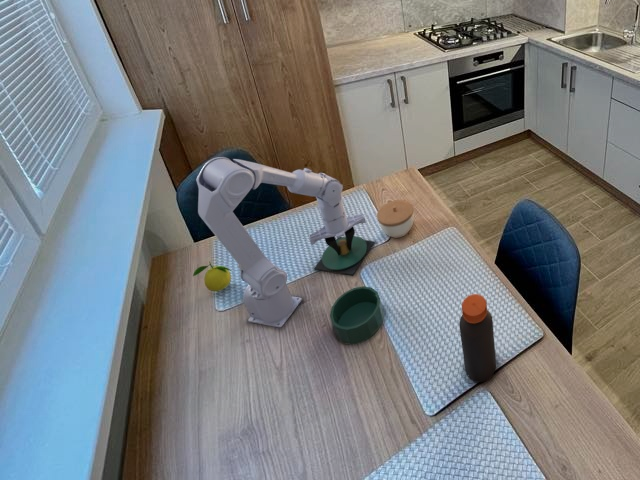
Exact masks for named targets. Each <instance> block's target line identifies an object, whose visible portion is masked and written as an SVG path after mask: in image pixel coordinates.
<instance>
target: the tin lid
mask: <svg viewBox="0 0 640 480" xmlns="http://www.w3.org/2000/svg"><path fill="white" fill-rule="evenodd" d="M336 240H337V239H336ZM336 242H337V245H338V247H339V250H340V253H341V255H338V254H337V252H336V251H335V250H334V249H333V248H332V247H330V246H328V245H327V247H326V249H325V250H324V251H323V253H322V256H321V259H322V262H323V265H324V266H325V267H326V268H328V269H331V270H342V269H346V268H349V267H351V266H353V265H355V264H356V263H357V262H359V261H360V260H361V259H362V258H363V256H364V255H365V253H366V250H367V244H366V242H365V239H364V238H363V237H359V236H355V235H354V237H353V240H352V250H350V251H349V248H348V245H347V241H346V237H344V238H341V239H339V240H337V241H336Z"/></svg>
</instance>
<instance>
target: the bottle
mask: <svg viewBox="0 0 640 480" xmlns="http://www.w3.org/2000/svg"><path fill="white" fill-rule="evenodd" d="M461 312H462V314H461V316H460V318H459V323H458V324H459V335H460V342H461V349H462V358H463V363H464V371H465V373H466V376H467V377H468V378H469V379H470V380H471V381H473V382H475V383H484V382H486V381H488V380H490V379H491V377H493V375H494V374H495V372H496V368H497V360H496V359H497V357H496V345H495V333H494V331H495V330H494V322H493V321H494V320H493V315H492V314H491V312H490V311H489V310H488V304H487V300H486V298H485V297H484V296H483V295H481V294H478V293H473V294H470V295H468V296H466V297H465V298H464V299H463V301H462V303H461ZM468 375H469V376H468Z"/></svg>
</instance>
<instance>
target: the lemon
mask: <svg viewBox="0 0 640 480" xmlns="http://www.w3.org/2000/svg"><path fill="white" fill-rule="evenodd" d="M208 263H209V264H208V265H202V266H199V267H197V268H196V269H195V270H194V272H193V275H192V277H195V276H197V275H200V273H202V272H203V271H204V270H206V269H207V268H209V266H210V268H209V269H208V270H207V271H206V273H205V275H204V278H203V280H204V281H203V282H204V285H205V287H206V289H207V290H209V291H211V292H220V291H223V290H224V289H226V288H227V287H229V285H230V283H231V281H232V276H231V272H232V270H231V269H230V268H228V267H226V266H223V265H215V266H214V265H212V263H211V261H209V262H208ZM230 271H231V272H230Z"/></svg>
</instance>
